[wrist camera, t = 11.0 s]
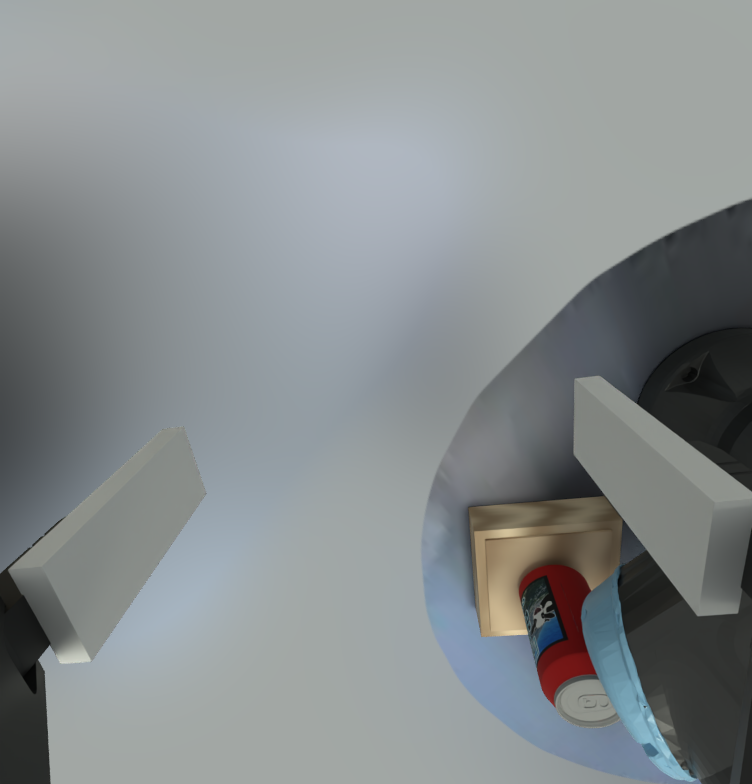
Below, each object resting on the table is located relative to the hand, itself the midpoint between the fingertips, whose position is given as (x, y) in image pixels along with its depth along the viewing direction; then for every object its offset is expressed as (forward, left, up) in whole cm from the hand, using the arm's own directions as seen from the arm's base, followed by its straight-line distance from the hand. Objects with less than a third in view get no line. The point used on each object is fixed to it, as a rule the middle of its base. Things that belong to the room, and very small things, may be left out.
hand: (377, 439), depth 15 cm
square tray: (-13, +29, -27) cm, 42 cm away
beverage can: (-13, +29, -23) cm, 39 cm away
